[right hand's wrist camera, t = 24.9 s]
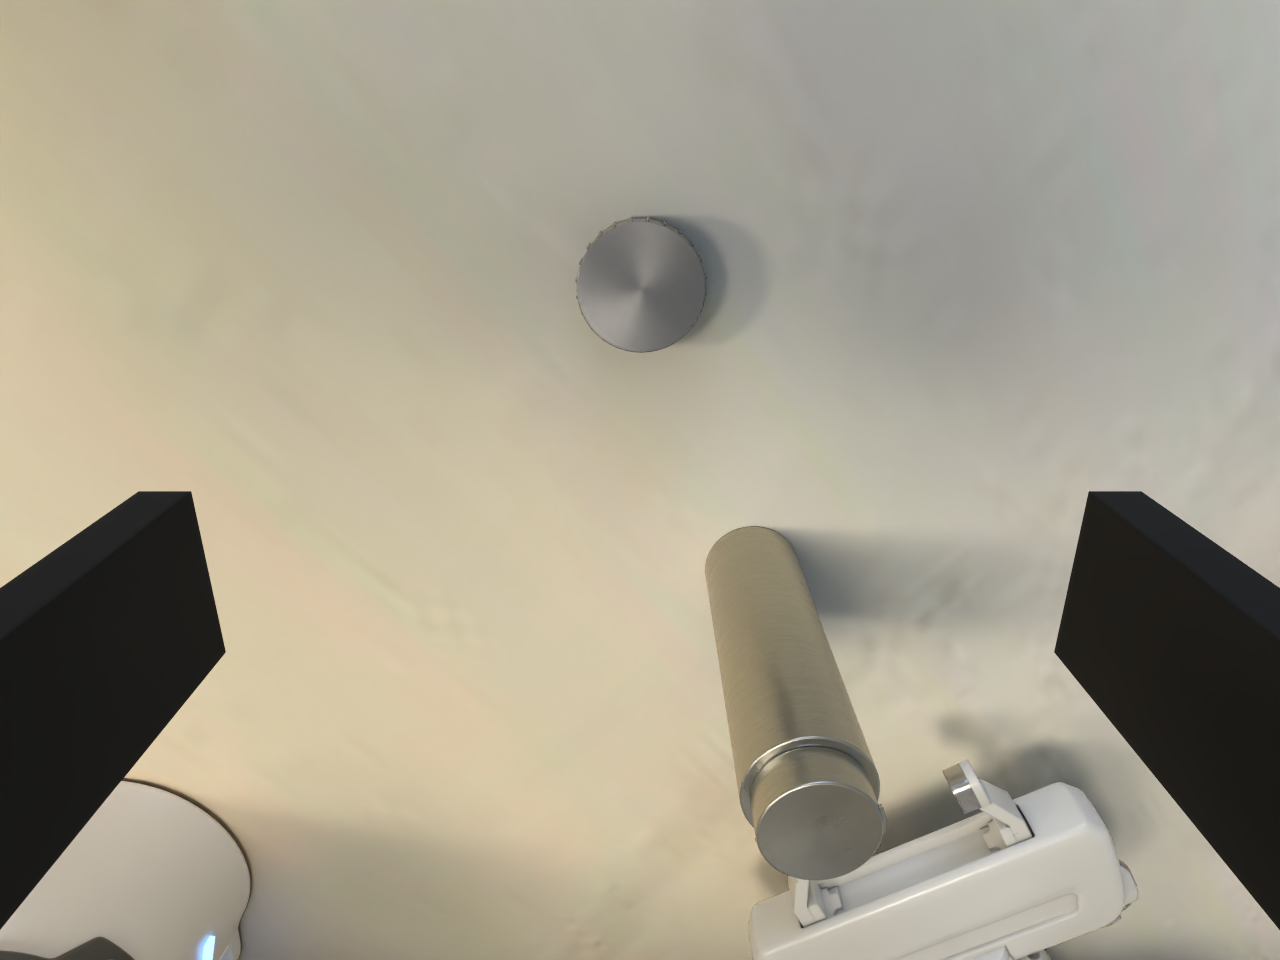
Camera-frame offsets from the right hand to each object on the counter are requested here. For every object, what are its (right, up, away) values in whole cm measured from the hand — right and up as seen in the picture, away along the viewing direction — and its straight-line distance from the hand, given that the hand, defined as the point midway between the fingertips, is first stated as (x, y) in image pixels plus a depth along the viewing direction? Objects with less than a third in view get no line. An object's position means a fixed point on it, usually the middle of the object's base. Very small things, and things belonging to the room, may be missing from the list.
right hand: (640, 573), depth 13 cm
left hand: (+12, -16, +32) cm, 37 cm away
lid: (0, +10, +26) cm, 28 cm away
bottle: (+6, -3, +33) cm, 34 cm away
